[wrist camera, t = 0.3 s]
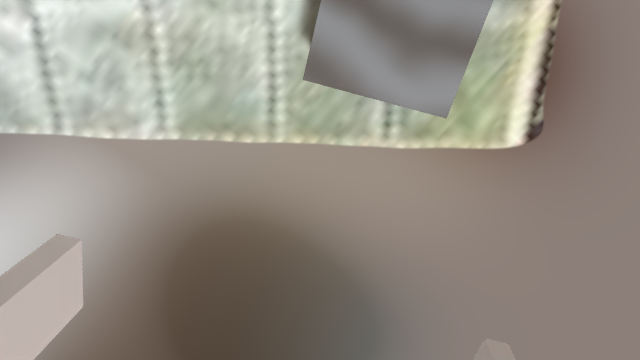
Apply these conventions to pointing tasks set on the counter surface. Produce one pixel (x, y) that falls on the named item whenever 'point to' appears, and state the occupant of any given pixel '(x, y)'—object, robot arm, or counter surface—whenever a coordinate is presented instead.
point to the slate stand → (396, 49)
